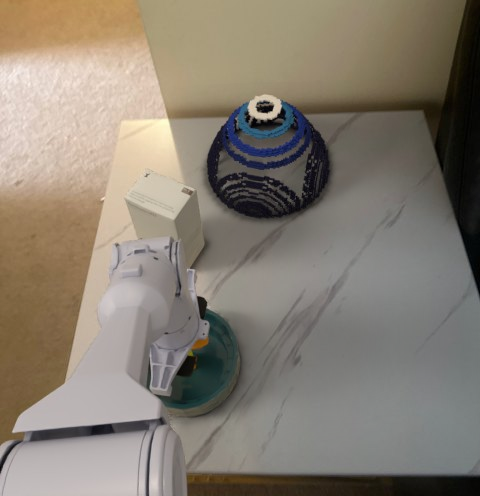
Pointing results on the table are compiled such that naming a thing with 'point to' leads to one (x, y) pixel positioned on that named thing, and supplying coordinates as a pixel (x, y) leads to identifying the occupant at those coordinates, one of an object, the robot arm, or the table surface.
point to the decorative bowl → (277, 112)
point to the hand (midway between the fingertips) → (185, 353)
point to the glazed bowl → (206, 373)
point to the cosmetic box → (166, 212)
